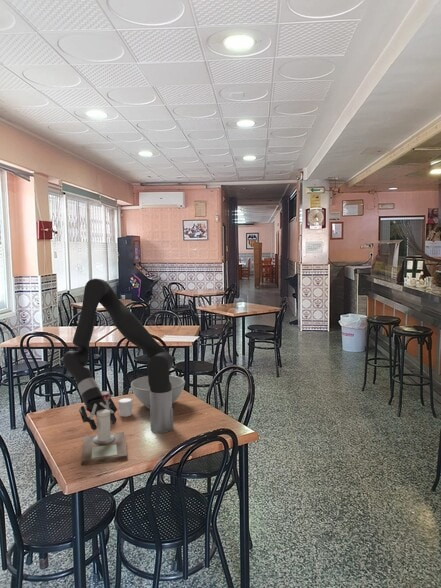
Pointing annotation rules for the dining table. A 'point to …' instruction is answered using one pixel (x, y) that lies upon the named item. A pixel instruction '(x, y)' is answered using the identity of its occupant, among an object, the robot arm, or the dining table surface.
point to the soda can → (105, 396)
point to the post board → (103, 449)
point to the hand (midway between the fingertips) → (105, 426)
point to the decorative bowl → (143, 389)
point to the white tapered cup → (125, 406)
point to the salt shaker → (103, 425)
